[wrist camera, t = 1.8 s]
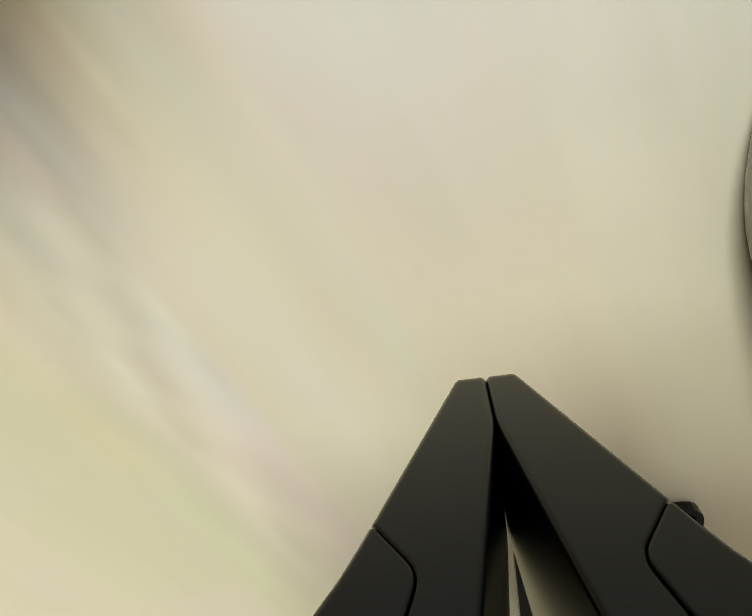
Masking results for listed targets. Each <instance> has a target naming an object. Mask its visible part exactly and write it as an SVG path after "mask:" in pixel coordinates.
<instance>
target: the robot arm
mask: <svg viewBox="0 0 752 616" xmlns="http://www.w3.org/2000/svg"><path fill="white" fill-rule="evenodd" d="M505 517H506V520H505ZM506 522H507V528H508V532H509V536H510V540H511V544H512V547H513V557H514V566H515V576H516V585H517V595H518V605H519V614H520V616H752V562H750V561H749V560H747V559H746V558H744V557H743V556H741V555H740V554H739V553H737V552H736V551H734V550H733V549H732V548H730V547H729V546H728V545H726V544H725V543H724V542H722V541H721V540H720V539H719V538H717V537H716V536H715V535H713V534H712V533H711V532H709V531H708V530H707V529H706V528H704V527H703V525H704V517H703V514H702V513H701V511H700V509H699V507H698V506H697V505H696V504H695V503H692V502H674V503H672V502H670V503H669V500H668V498H666V497H665V496H664V495H663V494H662V493H660V492H659V491H658V490H657V489H655V488H654V487H653V486H652V485H650V484H649V483H648V482H647V481H646V480H644V479H643V478H642V477H641V476H639V475H638V474H637V473H636V472H634V471H633V470H632V469H631V468H630V467H628V466H627V465H626V464H625V463H623V462H622V461H621V460H620V459H618V458H617V457H616V456H615V455H614V454H612V453H611V452H610V451H609V450H607V449H606V448H605V447H604V446H602V445H601V444H600V443H599V442H598V441H596V440H595V439H594V438H593V437H591V436H590V435H589V434H588V433H586V432H585V431H584V430H583V429H582V428H580V427H579V426H578V425H577V424H575V423H574V422H573V421H572V420H570V419H569V418H568V417H567V416H566V415H564V414H563V413H562V412H561V411H559V410H558V409H557V408H556V407H554V406H553V405H552V404H551V403H550V402H548V401H547V400H546V399H545V398H543V397H542V396H541V395H540V394H538V393H537V392H536V391H535V390H534V389H532V388H531V387H530V386H529V385H527V384H526V383H525V382H524V381H522V380H521V379H520V378H519V377H518V376H516V375H514V374H509V375H500V376H492V377H489V378H488V379H487V380H486V381H485V380H484V379H482V378H475V379H466V380H459V381H457V382H456V383H455V384H454V386H453V388H452V390H451V391H450V393H449V395H448V396H447V398H446V400H445V402H444V403H443V405H442V407H441V409H440V410H439V412H438V414H437V415H436V417H435V419H434V421H433V422H432V424H431V426H430V427H429V429H428V431H427V433H426V434H425V436H424V438H423V439H422V441H421V443H420V445H419V446H418V448H417V450H416V451H415V453H414V455H413V457H412V458H411V460H410V462H409V463H408V465H407V467H406V469H405V470H404V472H403V474H402V475H401V477H400V479H399V481H398V482H397V484H396V486H395V488H394V489H393V491H392V493H391V494H390V496H389V498H388V500H387V501H386V503H385V505H384V506H383V508H382V510H381V512H380V513H379V515H378V517H377V518H376V520H375V522H374V524H373V525H372V529H370V530H369V531H368V533H367V535H366V537H365V538H364V540H363V542H362V544H361V545H360V547H359V549H358V551H357V552H356V554H355V555H354V557H353V559H352V560H351V562H350V563H349V565H348V567H347V568H346V570H345V571H344V573H343V574H342V576H341V578H340V579H339V581H338V582H337V584H336V585H335V586H334V588H333V589H332V590H331V592H330V593H329V595H328V596H327V597H326V599H325V600H324V601H323V603H322V604H321V606H320V607H319V608H318V610H317V611H316V612H315V614H314V615H313V616H510V608H509V572H508V543H507V529H506Z"/></svg>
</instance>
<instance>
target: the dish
mask: <svg viewBox="0 0 752 616" xmlns="http://www.w3.org/2000/svg"><path fill="white" fill-rule="evenodd" d="M744 213H745V227H746V235H747V241H748V246H749V252H750V257H751V260H752V134H751V138H750V145H749V153H748V160H747V167H746V174H745V197H744Z"/></svg>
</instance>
